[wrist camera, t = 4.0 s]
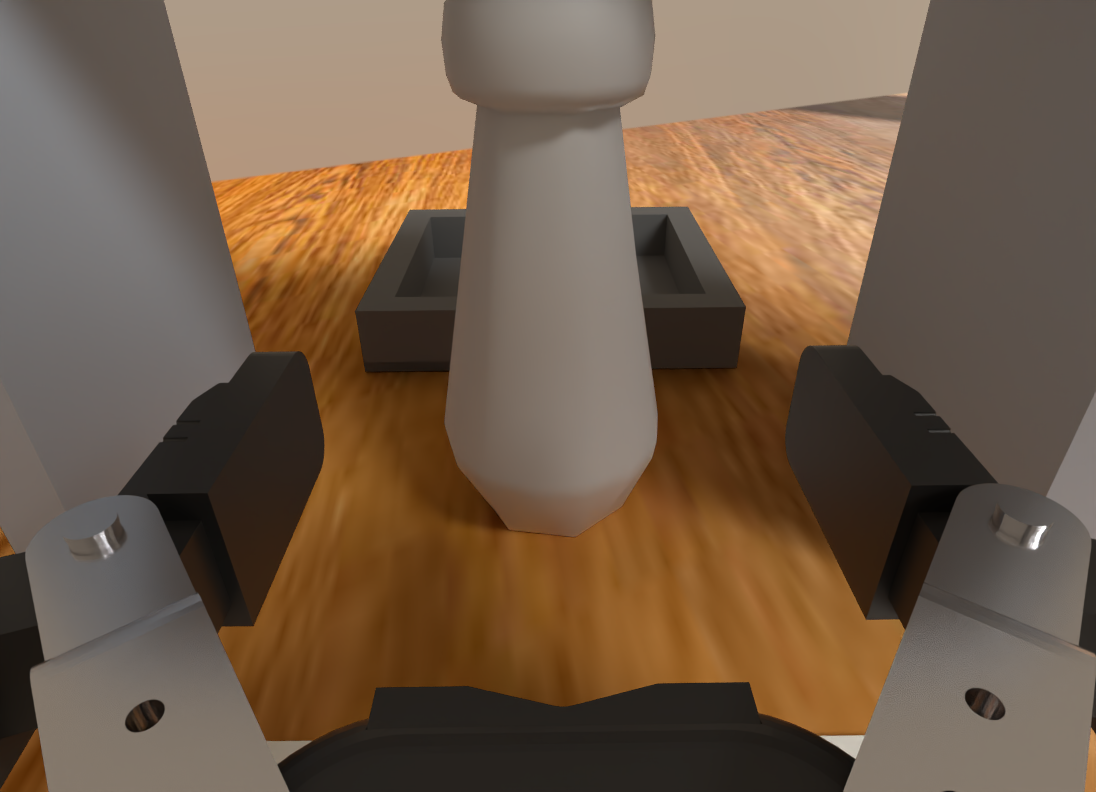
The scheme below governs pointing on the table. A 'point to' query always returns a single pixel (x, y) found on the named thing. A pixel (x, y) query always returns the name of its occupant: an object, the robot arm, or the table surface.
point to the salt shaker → (549, 261)
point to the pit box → (664, 273)
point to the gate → (222, 328)
